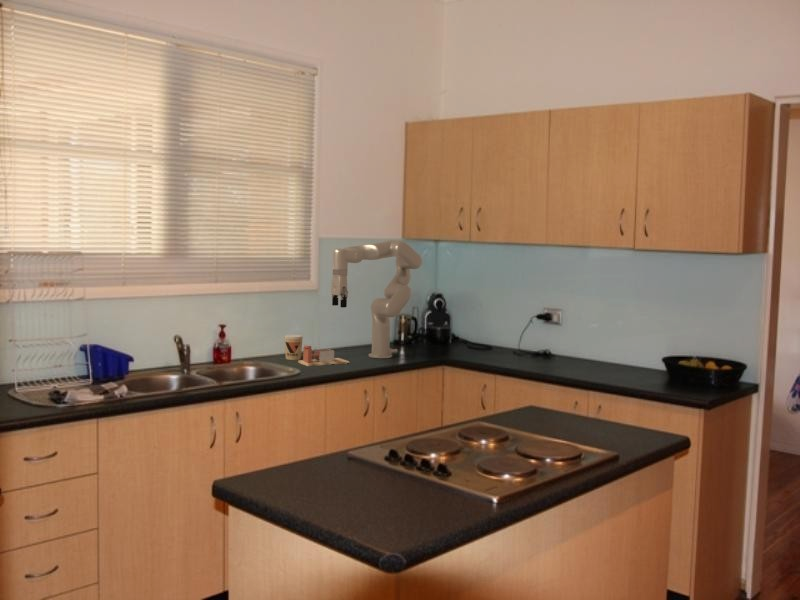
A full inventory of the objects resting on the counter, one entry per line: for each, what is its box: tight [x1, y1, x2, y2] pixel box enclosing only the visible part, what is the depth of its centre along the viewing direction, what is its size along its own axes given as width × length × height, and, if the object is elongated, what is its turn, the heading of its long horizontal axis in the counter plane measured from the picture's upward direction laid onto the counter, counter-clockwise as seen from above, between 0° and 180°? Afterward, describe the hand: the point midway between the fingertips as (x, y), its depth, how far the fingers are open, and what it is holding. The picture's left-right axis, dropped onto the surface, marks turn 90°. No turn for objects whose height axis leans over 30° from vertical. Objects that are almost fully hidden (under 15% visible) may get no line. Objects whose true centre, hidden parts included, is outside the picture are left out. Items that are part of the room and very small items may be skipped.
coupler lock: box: [313, 348, 335, 362], centre depth 421 cm, size 8×7×5 cm
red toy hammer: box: [302, 345, 319, 363], centre depth 419 cm, size 14×6×8 cm, turn 120°
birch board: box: [297, 357, 350, 367], centre depth 421 cm, size 23×12×1 cm, turn 120°
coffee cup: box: [284, 334, 304, 361], centre depth 430 cm, size 9×9×12 cm
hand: (339, 306), depth 426 cm, fingers open, 9 cm apart
